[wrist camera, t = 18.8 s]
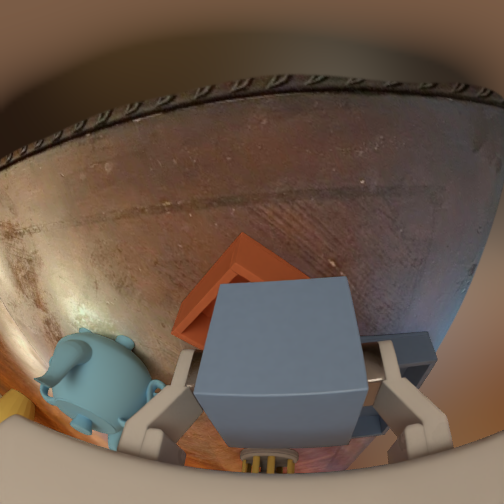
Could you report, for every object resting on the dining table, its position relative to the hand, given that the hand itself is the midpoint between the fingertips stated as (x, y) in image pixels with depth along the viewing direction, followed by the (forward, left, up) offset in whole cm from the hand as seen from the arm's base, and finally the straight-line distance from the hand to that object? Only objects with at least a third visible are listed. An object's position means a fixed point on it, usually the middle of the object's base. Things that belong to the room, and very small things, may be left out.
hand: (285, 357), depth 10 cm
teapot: (+36, -3, -17) cm, 40 cm away
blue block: (0, 0, -2) cm, 2 cm away
